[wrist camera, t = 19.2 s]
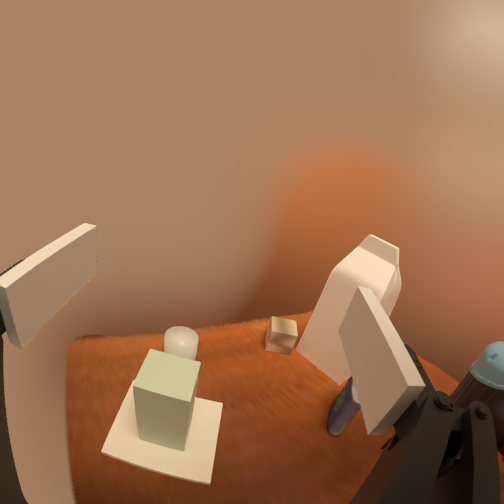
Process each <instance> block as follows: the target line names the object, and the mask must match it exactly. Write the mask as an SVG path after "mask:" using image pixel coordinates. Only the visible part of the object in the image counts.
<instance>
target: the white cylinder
mask: <svg viewBox="0 0 504 504" xmlns="http://www.w3.org/2000/svg"><path fill="white" fill-rule="evenodd" d="M197 345H198V335H197V333H196V332H195V331H193V330H192V329H190V328H187V327H183V326H175V327H171V328H169V329H168V330H167V331H166V333H165V342H164V353H167V354H171V355H175V356H178V357H182V358H186V359H190V360H194V361H195V358H196V352H197Z"/></svg>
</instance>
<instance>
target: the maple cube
mask: <svg viewBox="0 0 504 504" xmlns="http://www.w3.org/2000/svg"><path fill="white" fill-rule="evenodd" d="M297 337H298V334H297V325H296V321H293V320H288V319H283V318H279V317H273V316H272V317H271V321H270V324H269V327H268V330H267V333H266V342H265V351H271V352H276V353H281V354H287V355H290V354H291V351H292V349H293V347H294V344H295V342H296V339H297Z"/></svg>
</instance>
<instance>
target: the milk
mask: <svg viewBox="0 0 504 504" xmlns="http://www.w3.org/2000/svg"><path fill="white" fill-rule="evenodd" d="M398 265H399V248H397V247H395V246H393V245H392V244H390V243H388V242H386V241H384V240H381V239H380V238H378V237H375V236H374V235H368V236H367V237H366V238H365V239H364V240H363V242H361V244H360V245H359V247H357V248H356V249H354V250H353V251H352V252H351V253H350V254H349V255H348V256H347V257H345V258H344V259H343V260H342V261H341V262H340V263H339V264H338V265H337V266H336V267H335V268H334V269H333V271H332V272H331V274H330V276H329V278H328V280H327V283H326V285H325V287H324V289H323V292H322V294H321V296H320V298H319V301H318V303H317V305H316V307H315V309H314V312H313V314H312V316H311V318H310V320H309V322H308V324H307V326H306V329H305V331H304V333H303V335H302V337H301V339H300V341H299V343H298V345H297V347H296V349H295V350H296V351H298V352H299V353H300V354H301V355H303V356H304V357H305V358H306V359H307V360H309V361H310V362H311V363H312V364H314V365H315V366H316V367H317V368H319V369H320V370H321V371H322V372H324V373H325V374H326V375H327V376H329V377H330V378H331V379H332V380H334V381H335V382H336V383H337V384H339V385H340V384H342V383H343V382H344V381H345V380H347V379H348V378H349V377H350V376H352V374H351V371H350V368H349V364H348V361H347V358H346V355H345V351H344V348H343V345H342V342H341V339H340V335H339V332H338V330H339V328H340V326H341V323H342V321H343V319H344V317H345V315H346V312H347V310H348V308H349V305H350V303H351V301H352V299H353V296H354V294H355V291H356V289H357V287H358V286H361V287H365V288H370V289H372V291H373V293H374V294H375V296H376V297H377V299H378V301H379V302H380V304H381V306H382V307H383V309H384V311H385V313H386V314H387V316H388V318H389V316H390V314H391V312H392V309H393V307H394V304H395V302H396V300H397V298H398V295H399V293H400V290H401V276H400V271H399V266H398Z"/></svg>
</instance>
